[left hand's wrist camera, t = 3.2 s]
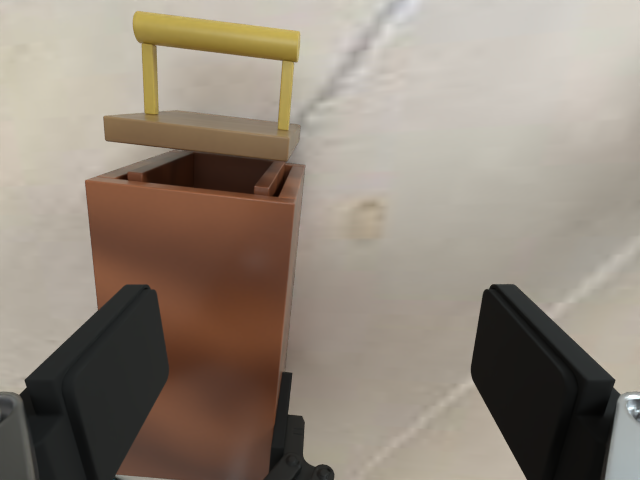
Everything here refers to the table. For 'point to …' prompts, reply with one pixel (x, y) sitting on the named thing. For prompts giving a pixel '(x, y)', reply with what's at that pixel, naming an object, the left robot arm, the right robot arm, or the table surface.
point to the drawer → (206, 129)
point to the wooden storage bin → (204, 313)
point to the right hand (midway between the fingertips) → (213, 379)
